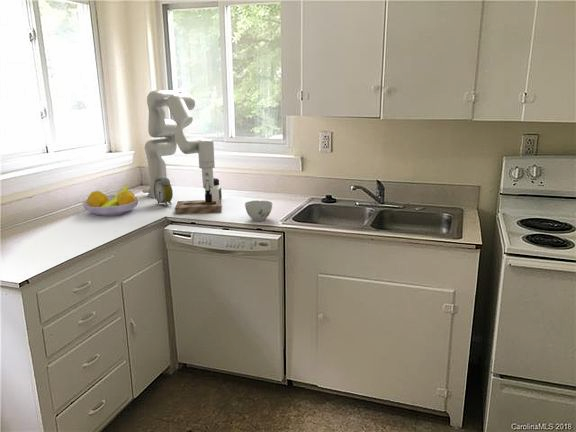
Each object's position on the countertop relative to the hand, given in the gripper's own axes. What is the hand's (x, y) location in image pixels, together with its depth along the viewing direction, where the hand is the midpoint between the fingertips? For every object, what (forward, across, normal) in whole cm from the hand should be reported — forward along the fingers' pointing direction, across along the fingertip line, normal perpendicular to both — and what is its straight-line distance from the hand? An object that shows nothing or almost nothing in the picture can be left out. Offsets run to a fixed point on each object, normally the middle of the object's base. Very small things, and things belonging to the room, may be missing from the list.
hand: (208, 200), depth 239 cm
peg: (+4, 0, 0) cm, 4 cm away
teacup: (+4, -22, -23) cm, 32 cm away
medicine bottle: (+5, +19, -2) cm, 20 cm away
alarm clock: (+5, +13, +23) cm, 27 cm away
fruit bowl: (+5, +3, +47) cm, 47 cm away
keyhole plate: (+4, 0, +5) cm, 7 cm away
